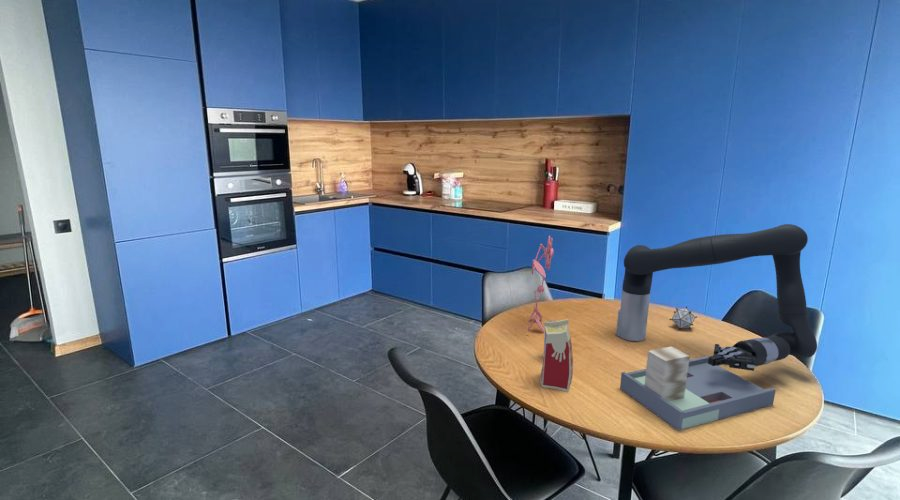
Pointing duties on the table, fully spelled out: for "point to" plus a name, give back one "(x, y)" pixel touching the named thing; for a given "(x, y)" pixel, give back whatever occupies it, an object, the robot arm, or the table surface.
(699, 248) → the robot arm
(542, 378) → the milk carton
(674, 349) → the off-white block
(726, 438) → the table surface
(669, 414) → the box
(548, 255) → the figurine
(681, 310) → the game die
